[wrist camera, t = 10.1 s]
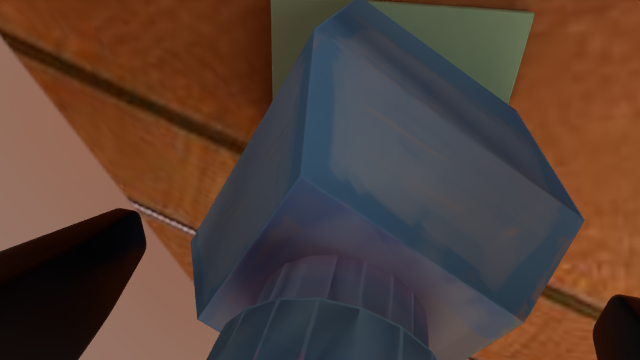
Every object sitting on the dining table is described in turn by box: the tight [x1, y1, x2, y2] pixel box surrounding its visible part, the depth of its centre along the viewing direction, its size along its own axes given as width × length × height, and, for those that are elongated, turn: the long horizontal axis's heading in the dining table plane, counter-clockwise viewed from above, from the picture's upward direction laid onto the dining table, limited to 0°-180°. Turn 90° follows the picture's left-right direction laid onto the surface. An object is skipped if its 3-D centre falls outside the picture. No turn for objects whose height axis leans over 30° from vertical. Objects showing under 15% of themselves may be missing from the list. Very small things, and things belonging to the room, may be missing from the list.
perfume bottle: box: [191, 0, 585, 360], centre depth 9 cm, size 6×6×12 cm
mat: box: [271, 0, 535, 104], centre depth 14 cm, size 8×8×1 cm
